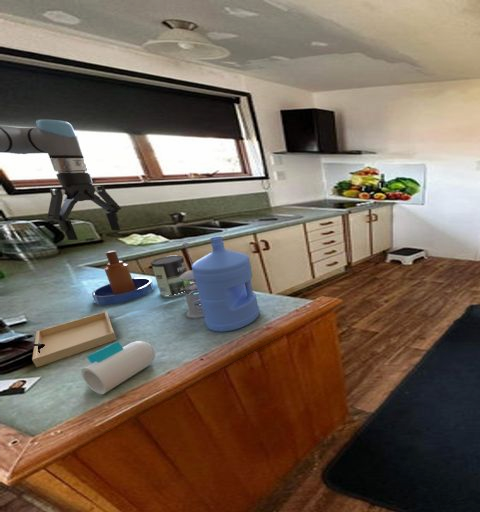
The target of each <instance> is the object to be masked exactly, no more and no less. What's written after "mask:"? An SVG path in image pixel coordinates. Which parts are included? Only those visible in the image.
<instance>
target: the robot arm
mask: <svg viewBox="0 0 480 512" xmlns="http://www.w3.org/2000/svg"><path fill="white" fill-rule="evenodd" d="M35 125H36V126H35V127H20V126H9V125H0V154H1V153H3V154H4V153H5V154H7V153H8V154H15V155H28V154H47V155H48V157H49V160H50V163H51V165H52V169H53V171H54V172H57V173H56V177H57V180H58V183H59V184H60V185H61V187H62V189H60V188H50V190H49V192H50V195H51V197H50V202H49V208H48V212H47V216H46V218H47V220H49V221H55V222H57V224H58V227H59V228H60V231H63V232H64V233H65V235H66V238H67V240H68V241H78V240H79V238H78V236H77V234H76V231H75V228H74V226H73V224H72V221H71V220H70V219H68V218H69V216H70V215H71V213H72V210H73V209H74V207H75V205H76V204H77V203H78V202H84V201H90V202H93V203H94V204H96V205H97V206H99V207H100V208H101V209H103V210H105V211H106V213H105V215H106V218H107V221H108V223H109V226H110V229H111V231H121V227H120V226H119V225H120V224H119V222H118V221H119V217H118V214H117V213H119V211H120V210H121V209H122V207H121V206H120V205H119V204H118V203H117V202H116V201H115V200H114V198H113V197H112V196H111V195H110V193H108V192H107V191H106V188H105V186H104V185H93V180H92V177H91V173H89V172H88V171H89V169H88V166H87V163H86V160H85V158H84V157H85V156H84V155H83V152H82V149H81V146H80V143H79V139H78V136H77V134H76V132H75V129H74V127H73V125H72V124H71V123H70V122H68V121H64V120H59V119H58V120H57V119H37V120H36V121H35ZM96 193H97V194H96ZM64 195H65V198H64ZM63 198H64V200H63ZM63 201H64V202H63Z"/></svg>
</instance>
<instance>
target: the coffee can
mask: <svg viewBox="0 0 480 512" xmlns="http://www.w3.org/2000/svg"><path fill="white" fill-rule="evenodd" d="M150 265H151V268H152V271H153V275H154V278H155V281H156V284H157V287H158V290H159V293H160V296H161V297H164V298H171V297H178V296H180V295H185V293H184V291H186V290H185V289H184V288H185V287H186V286H187V285H189V284H191V280H189V281H184V280H181V279H180V276H181V275H182V274H184V273H185V272H187V271H188V269H187V266H186V263H185V257H184V256H183V255H168V256H163V257H159V258H155V259H154V260H152V261H150ZM181 292H183V293H181ZM178 293H180V294H178ZM174 294H176V295H174ZM164 295H169V296H164Z"/></svg>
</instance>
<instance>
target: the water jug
mask: <svg viewBox="0 0 480 512" xmlns="http://www.w3.org/2000/svg"><path fill="white" fill-rule="evenodd" d="M209 240H210V242H211V243H210V245H211V248H212V251H211V252H209V253H208V254H206V255H204V256H203V257H201V258H199V259H197V260H196V261H194V262H193V263H192V266H191V270H193V276H194V279H195V280H194V281H195V283H196V285H197V289H198V290H197V291H198V292H197V294H199V300H200V303H201V305H202V308H203V312H204V316H203V317H204V321H205V322H204V323H205V326H206V327H207V328H208V329H209V330H210V331H213V332H231V331H236V330H239V329H242V328H244V327H246V326H248V325H250V324H252V323H253V322H254V321H256V319H257V318H258V317H259V315H260V307H259V304H258V299H257V294H256V292H254V290H253V286H252V277H253V272H252V264H251V261H250V257H249V255H248V254H246V253H243V252H239V251H233V250H228V249H226V247H225V243H224V241H223V236H214V237H210V238H209Z"/></svg>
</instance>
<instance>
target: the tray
mask: <svg viewBox="0 0 480 512" xmlns="http://www.w3.org/2000/svg"><path fill="white" fill-rule="evenodd" d="M117 339H118V338H117V337H116V334H115V329H114V327H113V325H112V321H111V318H110V316H109V313H108V311H107V310H106V311H101V312H98V313H95V314H91V315H88V316H85V317H80V318H77V319H74V320H70V321H67V322H63V323H59V324H56V325H53V326H50V327H47V328H43V329H39V330H36V331H35V338H34V344H38V343H43V344H45V346H44V347H43V348H41V349H40V353H39V352H38V346H34V345H33V350H32V351H33V352H32V357H31V360H32V362H33V364H34V366H35V368H38V367H39V368H40V367H43V366H45V365H48V364H51V363H54V362H57V361H59V360H62V359H65V358H69V357H71V356H74V355H77V354H79V353H82V352H86V351H89V350H91V349H93V348H97V347H100V346H102V345H105V344H108V343H111V342H114V341H117Z"/></svg>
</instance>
